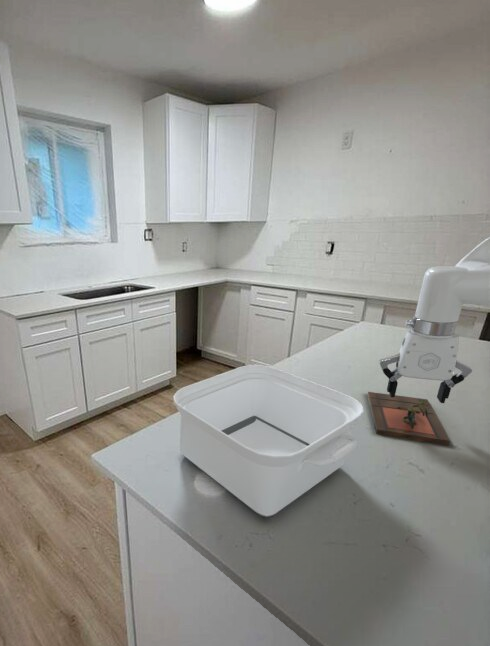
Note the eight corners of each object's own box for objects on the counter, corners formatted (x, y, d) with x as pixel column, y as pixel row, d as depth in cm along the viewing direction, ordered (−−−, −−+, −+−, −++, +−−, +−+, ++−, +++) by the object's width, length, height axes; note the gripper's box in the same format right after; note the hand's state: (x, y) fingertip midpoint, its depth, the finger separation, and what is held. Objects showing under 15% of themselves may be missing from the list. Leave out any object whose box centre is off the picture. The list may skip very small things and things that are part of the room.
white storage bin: (156, 449, 81) (153, 390, 75) (244, 409, 96) (248, 357, 90) (282, 554, 55) (293, 477, 49) (376, 477, 70) (393, 411, 64)
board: (426, 403, 96) (427, 398, 95) (448, 445, 79) (450, 440, 78) (367, 395, 101) (367, 391, 100) (376, 433, 84) (377, 428, 83)
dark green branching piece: (424, 432, 81) (431, 407, 79) (392, 424, 85) (398, 400, 82) (425, 416, 87) (432, 392, 85) (395, 409, 91) (401, 386, 88)
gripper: (389, 329, 77) (375, 400, 84) (491, 334, 71) (466, 410, 77) (384, 319, 83) (371, 386, 90) (477, 324, 77) (455, 395, 84)
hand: (415, 397), depth 84 cm, fingers open, 9 cm apart
